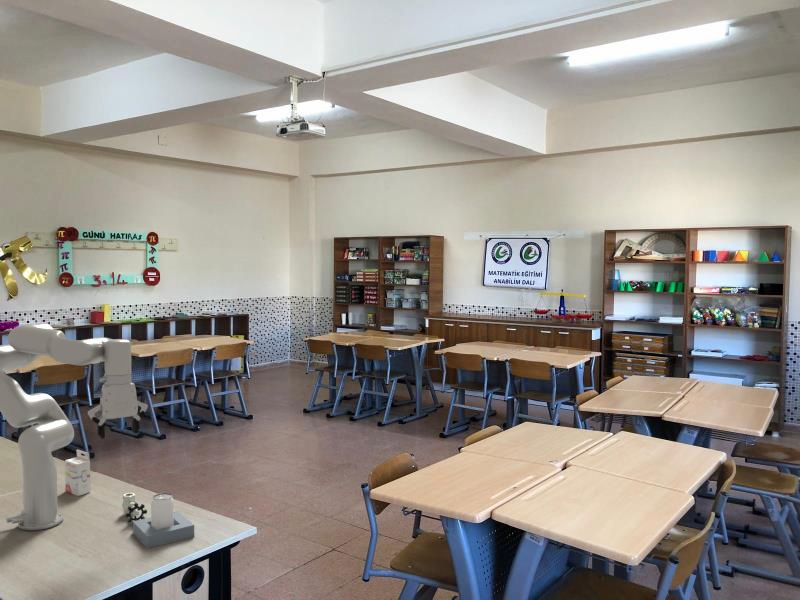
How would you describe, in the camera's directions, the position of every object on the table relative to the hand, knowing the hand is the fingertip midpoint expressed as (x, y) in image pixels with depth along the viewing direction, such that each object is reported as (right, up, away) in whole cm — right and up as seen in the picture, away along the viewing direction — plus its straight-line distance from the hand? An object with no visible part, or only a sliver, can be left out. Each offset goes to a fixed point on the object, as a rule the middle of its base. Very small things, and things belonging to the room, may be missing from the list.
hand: (118, 435), depth 200 cm
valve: (-1, -30, +13) cm, 33 cm away
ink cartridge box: (-30, -28, +36) cm, 55 cm away
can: (+13, -31, 0) cm, 34 cm away
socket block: (+14, -31, 0) cm, 33 cm away
